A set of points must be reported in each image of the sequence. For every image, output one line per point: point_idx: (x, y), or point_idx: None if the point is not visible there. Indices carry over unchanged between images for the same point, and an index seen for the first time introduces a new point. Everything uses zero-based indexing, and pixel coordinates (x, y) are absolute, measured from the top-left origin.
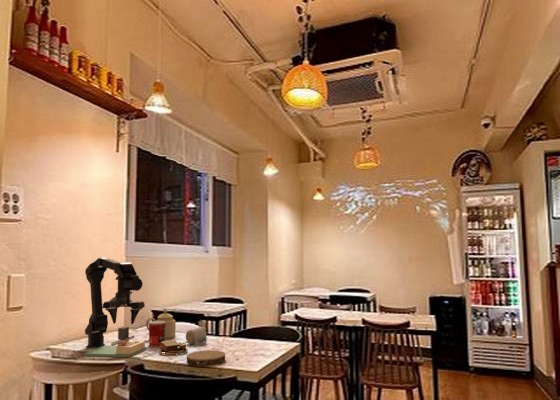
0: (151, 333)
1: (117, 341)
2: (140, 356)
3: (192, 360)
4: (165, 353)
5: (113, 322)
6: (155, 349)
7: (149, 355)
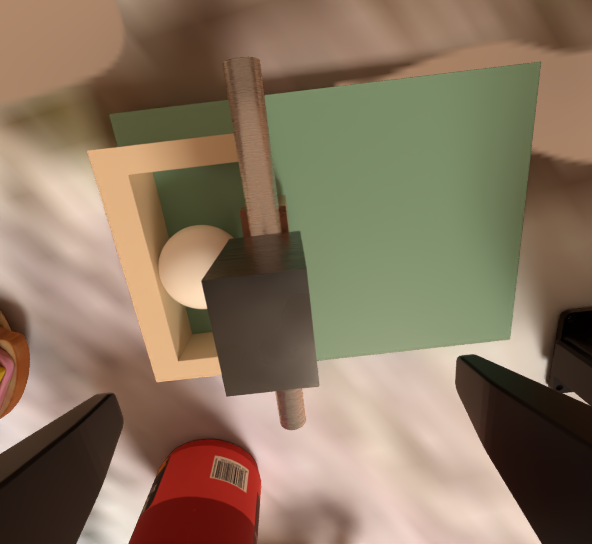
0: (197, 517)
1: (241, 150)
2: (51, 173)
3: None
4: None
5: (480, 360)
6: (121, 375)
7: (13, 219)
